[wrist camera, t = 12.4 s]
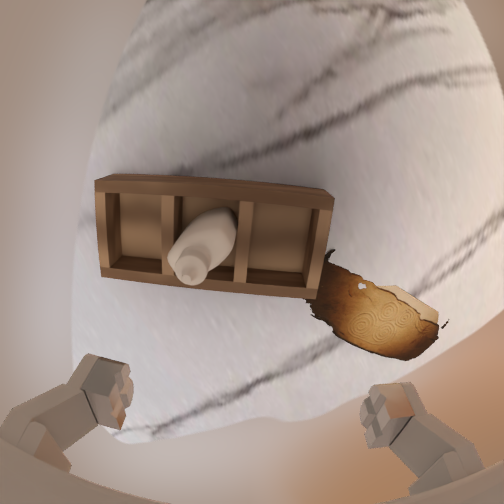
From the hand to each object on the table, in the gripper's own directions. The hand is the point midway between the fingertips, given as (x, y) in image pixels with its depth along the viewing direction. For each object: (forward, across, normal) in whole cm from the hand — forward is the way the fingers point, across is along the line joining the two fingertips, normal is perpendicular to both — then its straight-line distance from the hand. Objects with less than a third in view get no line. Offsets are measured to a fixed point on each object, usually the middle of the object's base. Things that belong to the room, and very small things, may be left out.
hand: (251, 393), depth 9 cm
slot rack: (+24, +4, +3) cm, 25 cm away
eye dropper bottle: (+23, +4, +2) cm, 24 cm away
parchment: (+24, -18, +12) cm, 33 cm away
